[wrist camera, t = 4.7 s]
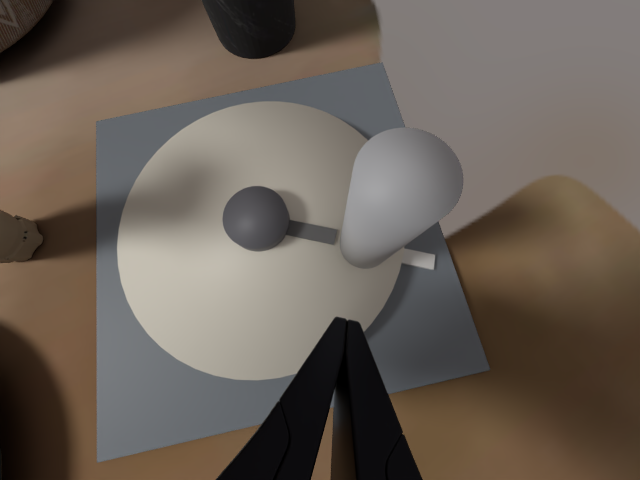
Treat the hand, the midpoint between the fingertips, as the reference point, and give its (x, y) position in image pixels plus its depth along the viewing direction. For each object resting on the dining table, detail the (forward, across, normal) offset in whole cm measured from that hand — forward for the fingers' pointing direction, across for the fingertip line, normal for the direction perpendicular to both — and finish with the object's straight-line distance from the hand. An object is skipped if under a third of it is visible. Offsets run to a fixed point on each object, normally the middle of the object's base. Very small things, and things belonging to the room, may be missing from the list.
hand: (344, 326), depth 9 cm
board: (+9, +6, +3) cm, 11 cm away
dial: (+9, +6, +3) cm, 11 cm away
